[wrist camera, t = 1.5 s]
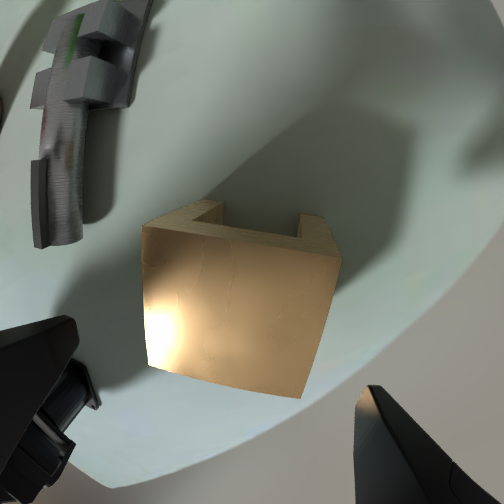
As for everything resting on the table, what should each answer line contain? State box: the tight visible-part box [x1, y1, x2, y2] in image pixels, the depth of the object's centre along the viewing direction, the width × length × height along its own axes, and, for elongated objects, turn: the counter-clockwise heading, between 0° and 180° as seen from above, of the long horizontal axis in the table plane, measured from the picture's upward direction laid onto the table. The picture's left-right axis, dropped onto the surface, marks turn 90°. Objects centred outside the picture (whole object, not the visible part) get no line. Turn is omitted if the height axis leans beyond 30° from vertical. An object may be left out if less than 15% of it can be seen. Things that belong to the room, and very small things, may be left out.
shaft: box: [30, 0, 153, 249], centre depth 12 cm, size 16×7×4 cm, turn 173°
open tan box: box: [142, 199, 343, 399], centre depth 13 cm, size 6×6×6 cm
